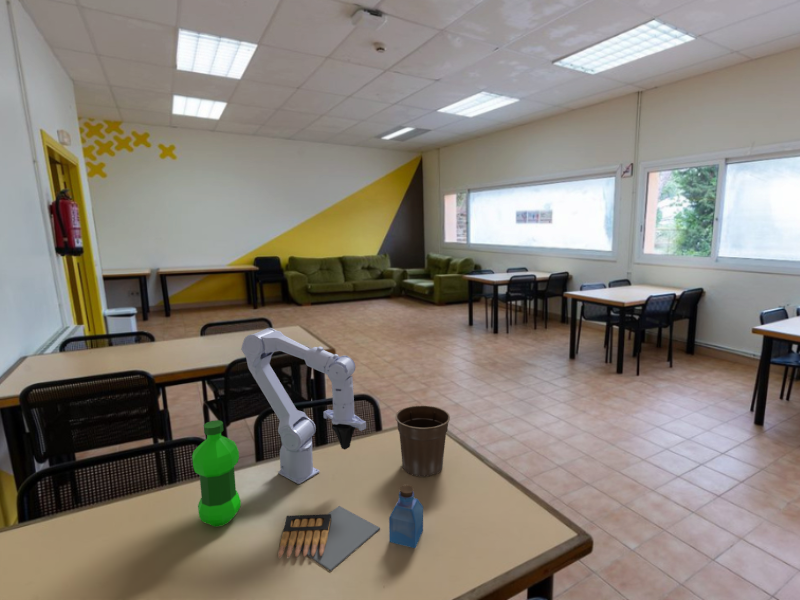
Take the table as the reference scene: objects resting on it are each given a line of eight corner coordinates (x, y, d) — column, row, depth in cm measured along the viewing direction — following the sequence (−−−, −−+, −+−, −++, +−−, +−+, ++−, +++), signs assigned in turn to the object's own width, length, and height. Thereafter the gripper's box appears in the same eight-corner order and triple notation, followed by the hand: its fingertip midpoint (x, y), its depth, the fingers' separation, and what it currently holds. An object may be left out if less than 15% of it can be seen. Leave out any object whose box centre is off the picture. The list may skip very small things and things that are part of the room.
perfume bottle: (423, 530, 102) (423, 483, 100) (415, 548, 96) (415, 499, 94) (398, 524, 104) (398, 479, 102) (389, 542, 98) (389, 494, 96)
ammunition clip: (331, 513, 104) (324, 552, 92) (331, 520, 104) (325, 559, 92) (286, 515, 103) (274, 554, 91) (287, 522, 104) (275, 561, 92)
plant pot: (399, 450, 138) (399, 403, 136) (449, 454, 136) (450, 406, 133) (391, 479, 122) (391, 426, 120) (448, 483, 120) (449, 429, 118)
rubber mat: (289, 543, 97) (288, 541, 97) (339, 507, 110) (339, 505, 110) (330, 571, 89) (330, 569, 89) (379, 529, 102) (379, 527, 102)
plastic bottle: (250, 518, 106) (244, 423, 102) (207, 540, 98) (199, 438, 94) (231, 501, 113) (225, 411, 109) (190, 520, 105) (181, 425, 101)
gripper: (314, 400, 119) (317, 446, 121) (352, 412, 110) (354, 461, 112) (332, 392, 124) (335, 436, 126) (370, 403, 115) (372, 450, 117)
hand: (345, 447), depth 119 cm, fingers closed
